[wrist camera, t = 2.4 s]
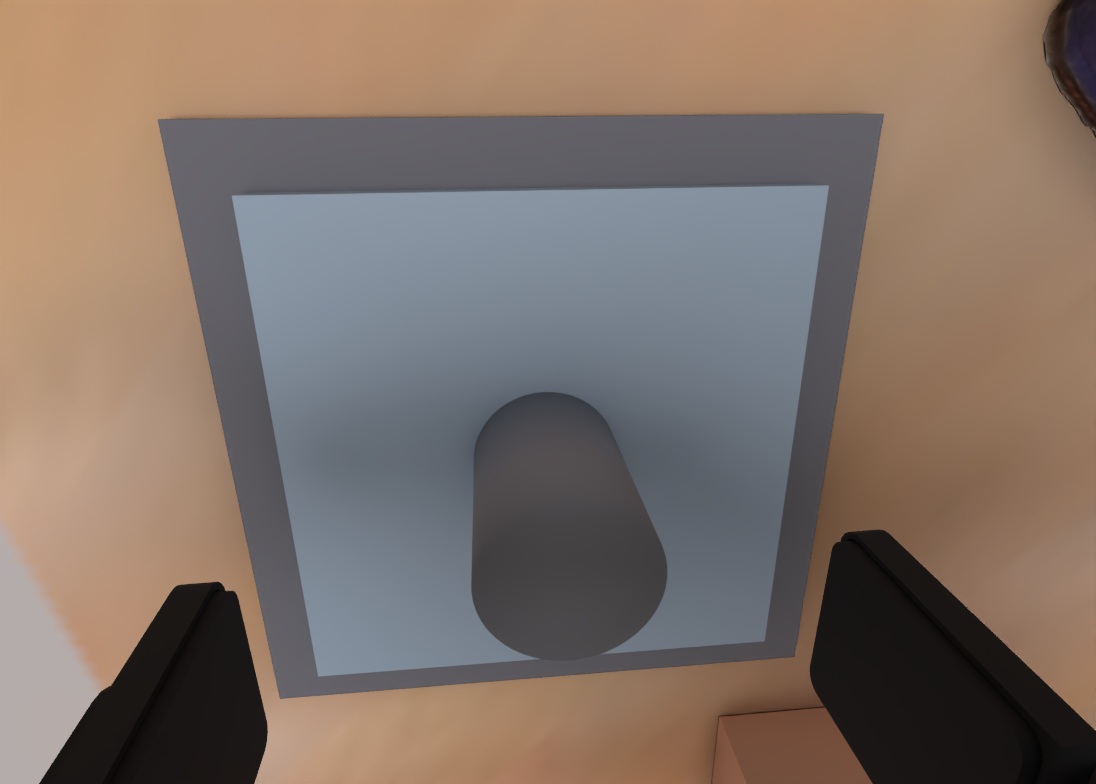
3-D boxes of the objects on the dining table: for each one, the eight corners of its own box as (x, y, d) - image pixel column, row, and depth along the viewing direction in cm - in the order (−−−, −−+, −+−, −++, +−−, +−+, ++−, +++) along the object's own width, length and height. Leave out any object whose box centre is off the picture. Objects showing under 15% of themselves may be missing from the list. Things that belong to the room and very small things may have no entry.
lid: (812, 183, 15) (990, 206, 10) (754, 622, 20) (853, 799, 15) (244, 192, 14) (101, 224, 9) (324, 655, 19) (262, 859, 14)
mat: (869, 114, 16) (883, 114, 15) (786, 643, 21) (794, 656, 21) (170, 120, 14) (157, 119, 14) (285, 683, 20) (280, 698, 19)
